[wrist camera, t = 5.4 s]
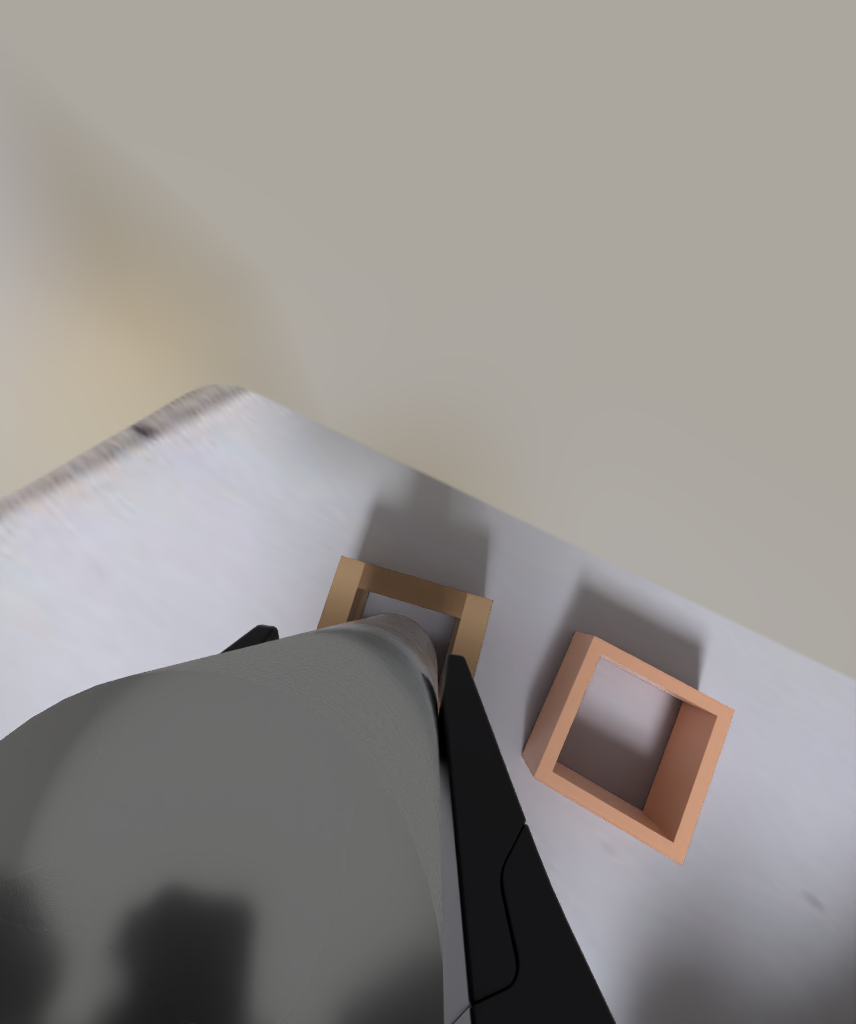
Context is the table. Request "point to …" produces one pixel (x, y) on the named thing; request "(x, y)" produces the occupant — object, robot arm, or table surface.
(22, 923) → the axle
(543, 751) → the socket block
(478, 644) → the wooden square frame
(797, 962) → the table surface
